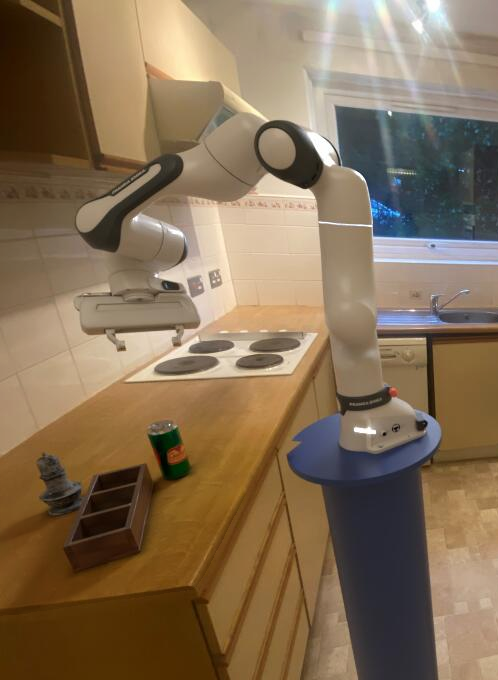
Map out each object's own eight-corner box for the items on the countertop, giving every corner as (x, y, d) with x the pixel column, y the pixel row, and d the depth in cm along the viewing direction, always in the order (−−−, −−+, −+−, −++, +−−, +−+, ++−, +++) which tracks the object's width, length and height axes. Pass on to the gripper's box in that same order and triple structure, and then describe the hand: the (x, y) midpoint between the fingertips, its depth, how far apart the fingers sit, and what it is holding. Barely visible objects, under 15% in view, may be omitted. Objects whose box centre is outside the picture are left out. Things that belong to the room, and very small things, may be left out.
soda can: (177, 482, 90) (160, 431, 86) (156, 479, 91) (138, 429, 87) (197, 468, 95) (182, 420, 90) (177, 466, 96) (161, 418, 91)
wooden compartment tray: (153, 483, 90) (146, 462, 88) (140, 552, 72) (130, 528, 70) (102, 496, 86) (93, 475, 84) (74, 572, 68) (62, 547, 66)
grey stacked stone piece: (80, 493, 87) (56, 441, 82) (95, 501, 84) (71, 448, 80) (40, 510, 82) (13, 456, 77) (55, 520, 79) (27, 464, 75)
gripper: (69, 285, 87) (81, 346, 85) (192, 284, 101) (206, 337, 98) (74, 301, 92) (86, 359, 89) (192, 298, 105) (205, 349, 103)
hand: (150, 347), depth 94 cm, fingers open, 8 cm apart
